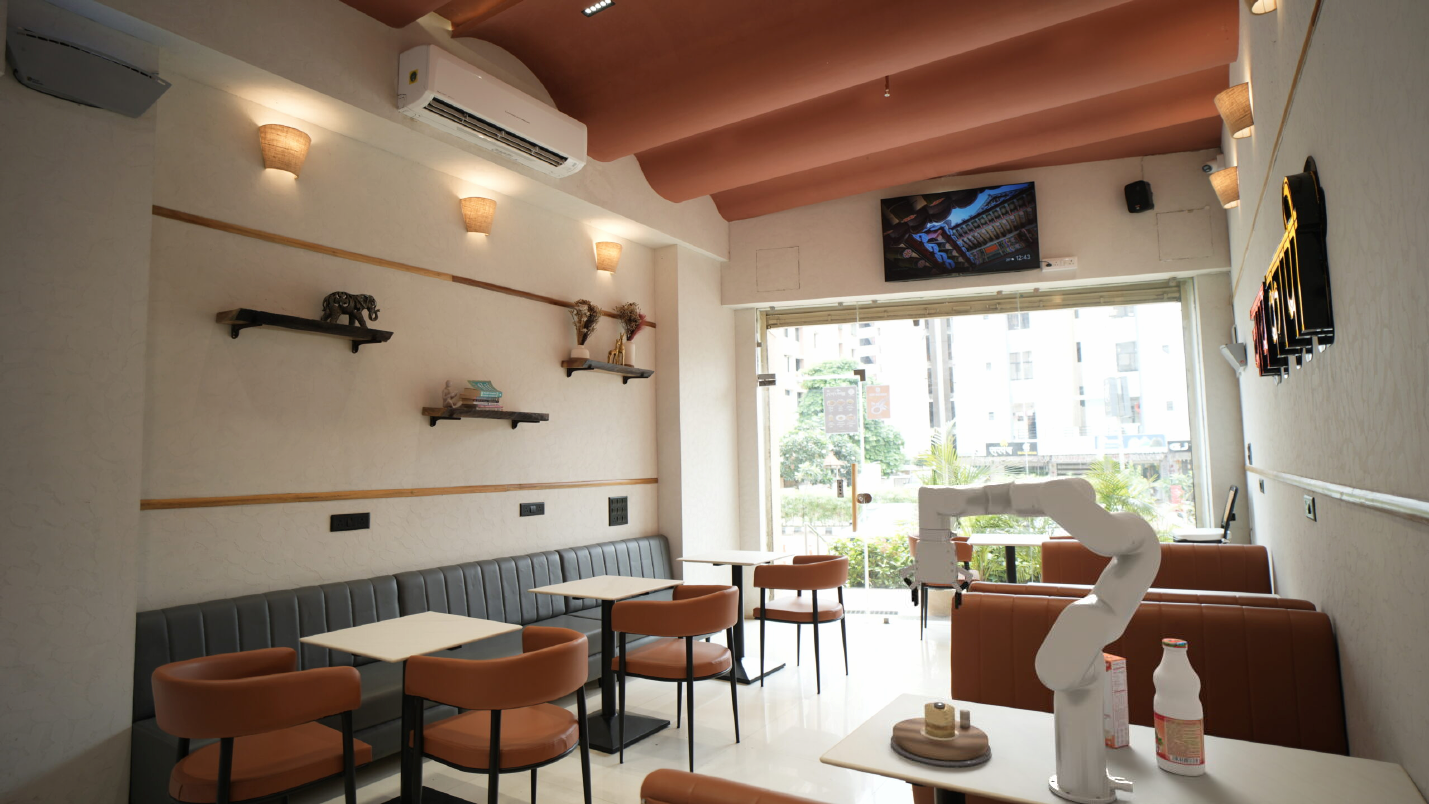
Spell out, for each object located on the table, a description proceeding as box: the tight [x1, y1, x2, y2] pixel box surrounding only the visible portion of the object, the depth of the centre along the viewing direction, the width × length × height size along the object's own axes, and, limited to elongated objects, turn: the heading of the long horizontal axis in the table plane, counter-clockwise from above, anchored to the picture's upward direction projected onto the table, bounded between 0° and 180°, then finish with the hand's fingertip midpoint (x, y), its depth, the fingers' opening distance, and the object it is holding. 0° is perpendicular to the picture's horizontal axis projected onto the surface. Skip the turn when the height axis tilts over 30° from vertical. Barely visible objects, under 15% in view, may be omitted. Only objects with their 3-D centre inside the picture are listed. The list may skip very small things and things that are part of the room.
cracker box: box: [1103, 652, 1130, 749], centre depth 186 cm, size 14×6×21 cm, turn 25°
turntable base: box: [890, 734, 992, 769], centre depth 179 cm, size 23×23×1 cm
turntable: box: [892, 708, 990, 760], centre depth 179 cm, size 22×22×6 cm
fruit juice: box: [1152, 638, 1206, 777], centre depth 168 cm, size 9×9×28 cm
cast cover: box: [923, 701, 956, 738], centre depth 179 cm, size 7×7×7 cm
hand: (936, 606), depth 181 cm, fingers open, 9 cm apart
